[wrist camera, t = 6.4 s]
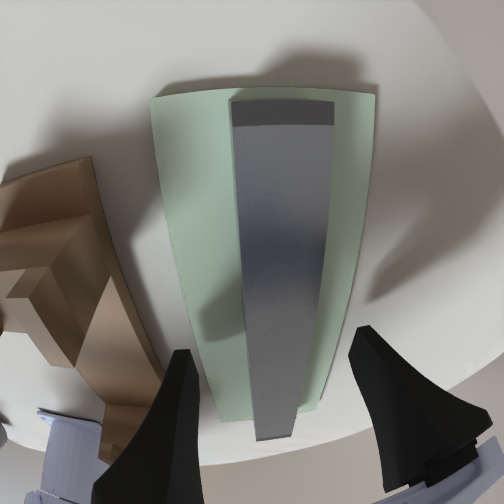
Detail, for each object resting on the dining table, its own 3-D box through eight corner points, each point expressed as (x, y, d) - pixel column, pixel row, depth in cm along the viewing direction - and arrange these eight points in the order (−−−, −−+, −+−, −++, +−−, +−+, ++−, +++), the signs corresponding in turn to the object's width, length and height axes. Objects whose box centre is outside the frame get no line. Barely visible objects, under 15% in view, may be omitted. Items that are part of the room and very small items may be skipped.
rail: (286, 413, 18) (291, 436, 16) (253, 417, 17) (256, 441, 16) (308, 98, 7) (334, 102, 6) (228, 100, 7) (230, 101, 5)
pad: (314, 403, 19) (315, 409, 18) (221, 415, 18) (221, 422, 18) (366, 93, 8) (374, 94, 7) (153, 98, 7) (148, 98, 7)
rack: (190, 419, 18) (191, 479, 14) (130, 417, 18) (125, 474, 13) (90, 156, 8) (-5, 226, 4) (-1, 184, 8) (-81, 251, 3)
